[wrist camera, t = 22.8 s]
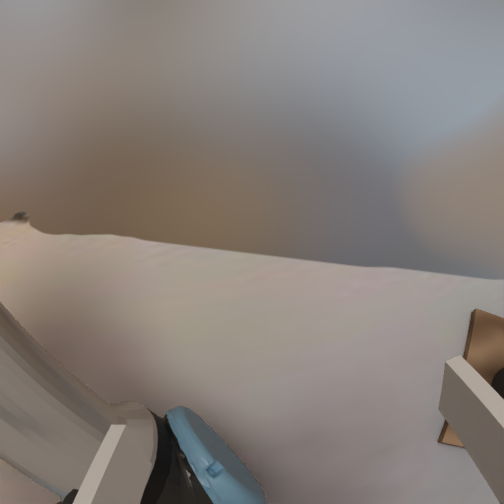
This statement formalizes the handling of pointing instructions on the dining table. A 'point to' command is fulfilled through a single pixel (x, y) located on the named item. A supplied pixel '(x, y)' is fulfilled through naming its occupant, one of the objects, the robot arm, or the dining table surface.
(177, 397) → the dining table surface
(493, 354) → the wooden board
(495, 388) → the coffee cup
